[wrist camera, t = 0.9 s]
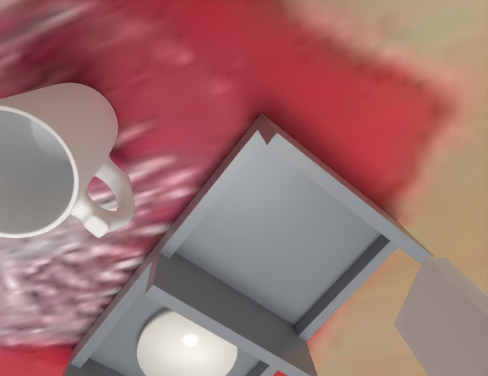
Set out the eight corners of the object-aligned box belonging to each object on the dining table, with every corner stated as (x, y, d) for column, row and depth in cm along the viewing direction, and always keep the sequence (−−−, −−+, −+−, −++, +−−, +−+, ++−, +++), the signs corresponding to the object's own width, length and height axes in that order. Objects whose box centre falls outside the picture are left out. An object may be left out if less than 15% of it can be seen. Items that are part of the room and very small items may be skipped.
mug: (10, 124, 30) (-103, 177, 19) (66, 58, 29) (-18, 72, 18) (117, 209, 33) (75, 297, 22) (172, 152, 32) (158, 214, 21)
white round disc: (119, 354, 37) (116, 364, 36) (176, 286, 35) (175, 294, 34) (198, 394, 40) (198, 404, 39) (255, 332, 38) (257, 341, 37)
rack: (72, 350, 38) (45, 416, 31) (261, 112, 32) (277, 132, 25) (209, 417, 42) (211, 486, 36) (397, 221, 36) (440, 262, 30)
